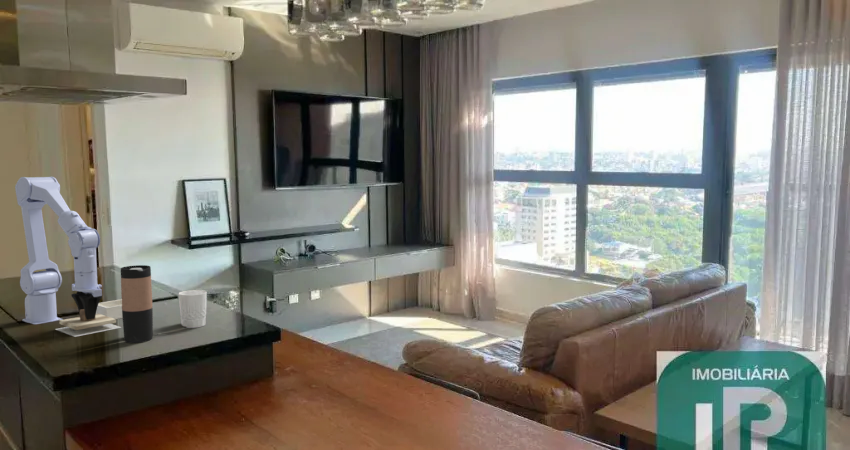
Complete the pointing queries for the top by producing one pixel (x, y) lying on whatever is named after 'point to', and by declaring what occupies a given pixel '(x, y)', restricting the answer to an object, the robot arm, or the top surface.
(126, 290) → the travel mug
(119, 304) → the white box
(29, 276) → the robot arm
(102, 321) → the lid
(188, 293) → the white cup
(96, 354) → the top surface
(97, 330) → the mat
